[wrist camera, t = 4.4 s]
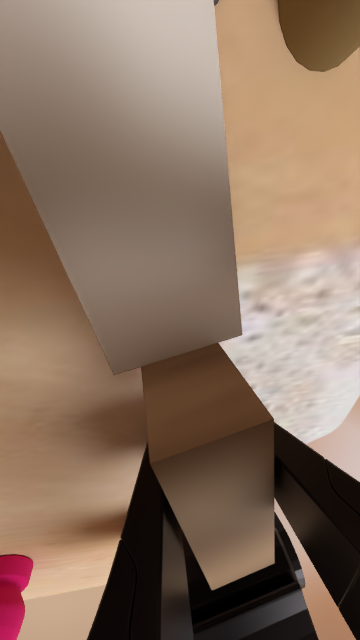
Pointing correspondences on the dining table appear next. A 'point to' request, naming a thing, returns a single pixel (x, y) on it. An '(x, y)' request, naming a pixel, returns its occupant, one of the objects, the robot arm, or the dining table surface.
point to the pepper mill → (13, 593)
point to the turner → (149, 239)
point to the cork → (320, 31)
